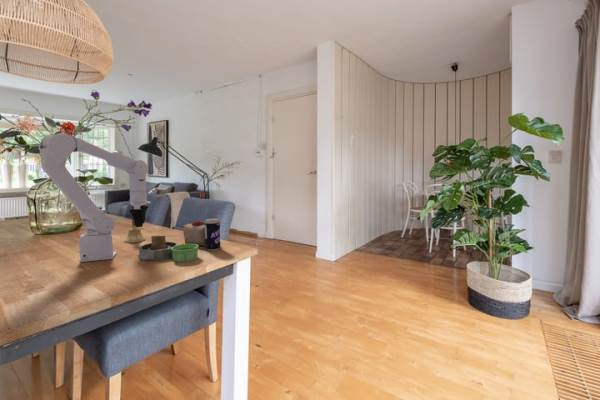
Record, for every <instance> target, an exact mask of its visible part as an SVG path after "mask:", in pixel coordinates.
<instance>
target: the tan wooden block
mask: <svg viewBox="0 0 600 400" xmlns="http://www.w3.org/2000/svg"><path fill="white" fill-rule="evenodd" d="M150 238H151V243H152V250H156V249H166V234H159V235H157V234H156V235H151V236H150Z"/></svg>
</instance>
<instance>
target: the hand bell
mask: <svg viewBox="0 0 600 400" xmlns="http://www.w3.org/2000/svg"><path fill="white" fill-rule="evenodd" d="M132 207H134V206H133V205H131V208H130V209H133V208H132ZM130 217H131V227H129V228H128V233H127V236H126V238H125V239H124V243H127V244H128V243H131V244H132V243H141V242H143V241H146V240H147V239H146V237H144V236H143V234H142V232H141V227H136V226H135V222H134V219H133V216H132V214H131V213H130Z"/></svg>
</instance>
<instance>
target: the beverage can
mask: <svg viewBox="0 0 600 400" xmlns="http://www.w3.org/2000/svg"><path fill="white" fill-rule="evenodd" d="M204 224H205V247H204V248H205V249H206V250H207V251H209V252H215V251H216V252H217V251H219V250H220V248H221V223H220V220H219V218H216V217H215V218H206V219H205V221H204Z"/></svg>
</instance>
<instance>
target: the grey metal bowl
mask: <svg viewBox="0 0 600 400" xmlns="http://www.w3.org/2000/svg"><path fill="white" fill-rule="evenodd" d="M176 245H179V242H176V241H168V240H167V241H166V249H156V250H152V242H150V243H146V244H143V245H140V246H139V247H138V258H139V260H142V261H147V262H150V261H152V262H153V261H155V262H156V261H163V260H168V259H173V255H172V250H171V248H172V247H173V246H176Z"/></svg>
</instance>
